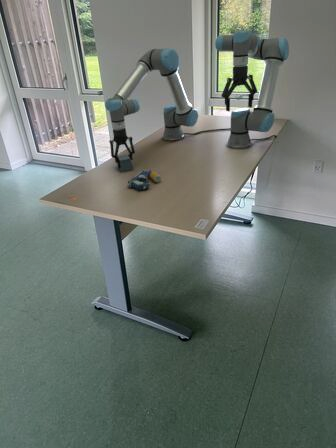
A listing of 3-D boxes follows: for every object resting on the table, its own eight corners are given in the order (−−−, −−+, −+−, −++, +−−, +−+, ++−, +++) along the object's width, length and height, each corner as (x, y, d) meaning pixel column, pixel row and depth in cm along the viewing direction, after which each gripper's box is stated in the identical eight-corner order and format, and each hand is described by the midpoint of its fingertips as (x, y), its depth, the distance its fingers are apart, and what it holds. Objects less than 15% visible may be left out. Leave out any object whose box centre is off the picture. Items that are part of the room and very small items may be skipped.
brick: (121, 172, 199) (119, 160, 195) (118, 167, 206) (116, 155, 202) (132, 169, 201) (130, 158, 197) (128, 165, 208) (127, 153, 204)
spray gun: (166, 176, 187) (143, 174, 193) (165, 169, 185) (142, 167, 191) (148, 193, 172) (124, 189, 178) (147, 185, 170) (123, 182, 176)
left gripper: (103, 133, 185) (110, 171, 197) (137, 127, 190) (142, 165, 202) (101, 130, 191) (107, 167, 203) (133, 124, 196) (138, 161, 208)
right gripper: (221, 69, 163) (221, 113, 174) (265, 63, 169) (263, 106, 180) (214, 68, 169) (215, 111, 180) (257, 62, 175) (255, 104, 186)
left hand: (124, 166), depth 203 cm, fingers closed on brick, 7 cm apart
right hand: (239, 109), depth 180 cm, fingers open, 13 cm apart
